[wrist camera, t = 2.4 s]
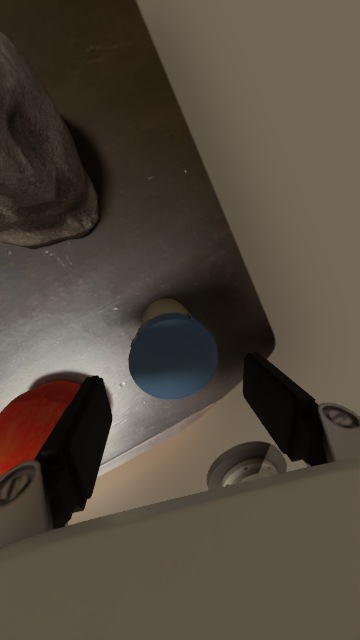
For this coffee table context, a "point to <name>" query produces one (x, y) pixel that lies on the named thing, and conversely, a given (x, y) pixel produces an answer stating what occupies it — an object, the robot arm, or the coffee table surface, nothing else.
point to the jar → (163, 309)
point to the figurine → (38, 162)
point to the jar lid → (172, 356)
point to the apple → (32, 421)
